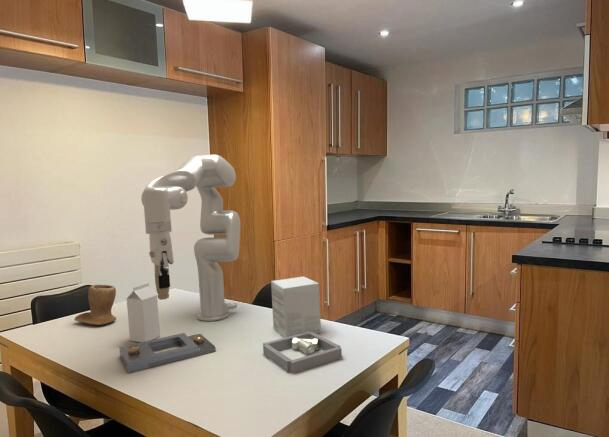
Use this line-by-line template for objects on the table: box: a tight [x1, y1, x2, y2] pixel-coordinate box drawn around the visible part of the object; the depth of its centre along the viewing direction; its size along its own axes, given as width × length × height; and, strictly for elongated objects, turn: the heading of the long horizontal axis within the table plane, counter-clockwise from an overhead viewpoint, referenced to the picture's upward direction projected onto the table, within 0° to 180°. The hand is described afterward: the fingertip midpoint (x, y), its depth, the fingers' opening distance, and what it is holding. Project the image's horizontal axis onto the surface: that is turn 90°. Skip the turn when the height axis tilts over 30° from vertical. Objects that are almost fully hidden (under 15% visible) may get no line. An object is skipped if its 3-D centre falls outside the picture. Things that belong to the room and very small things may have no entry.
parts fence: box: [262, 332, 343, 374], centre depth 132 cm, size 18×18×3 cm
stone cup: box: [73, 284, 117, 326], centre depth 174 cm, size 15×12×15 cm
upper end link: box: [118, 332, 198, 374], centre depth 137 cm, size 20×15×5 cm
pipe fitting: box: [291, 338, 320, 356], centre depth 135 cm, size 8×4×7 cm
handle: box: [148, 251, 170, 300], centre depth 136 cm, size 5×6×15 cm
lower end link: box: [148, 333, 216, 369], centre depth 140 cm, size 20×15×3 cm
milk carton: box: [126, 282, 161, 343], centre depth 152 cm, size 7×7×19 cm
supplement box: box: [270, 276, 322, 338], centre depth 154 cm, size 13×13×18 cm
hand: (162, 285), depth 136 cm, fingers closed on handle, 3 cm apart
